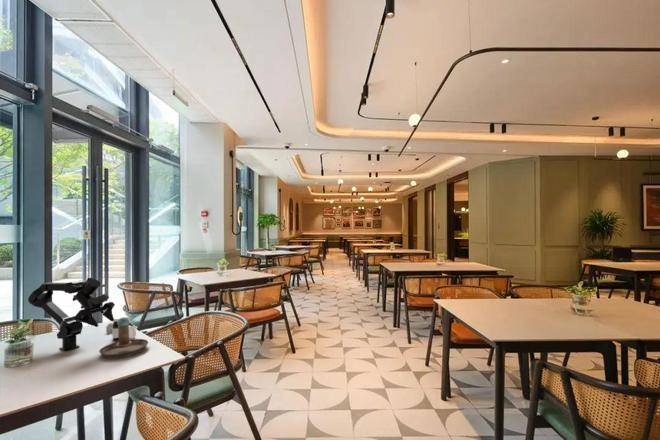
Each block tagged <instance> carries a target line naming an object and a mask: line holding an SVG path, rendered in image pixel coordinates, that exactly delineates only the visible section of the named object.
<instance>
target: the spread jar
mask: <svg viewBox="0 0 660 440" xmlns="http://www.w3.org/2000/svg"><path fill="white" fill-rule="evenodd" d="M122 317H126V318H128V319H129V316H128V315H119V316H115V317H113V318H114V321H113V322H112V323H113V326H112V340H114V341H119V336H118V325H117V322H118V320H119V319H120V318H122ZM136 336H137V331H136V328H135V327H134V326H132V325H129V340H131V339H136Z"/></svg>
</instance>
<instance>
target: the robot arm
mask: <svg viewBox="0 0 660 440" xmlns="http://www.w3.org/2000/svg"><path fill="white" fill-rule="evenodd" d="M101 284H102V283H101V282H100V281H99V280H97V279H95V278H93V277H88V278H87V279H86V281H84V280H77V281H75V280H74V281H70V282H54V281H53V282H52V281H50V282H49V281H48V282H45V283H44V282H43V283H42V284H41V285H40V286H39V287H38V288H36V289H35V290H33V291H32V292H31V294H30V295H29V296H28V299H27V301H28V303H29V304H30V305H32V306H33V307H35V308H40V309H42V310H43V311H44V312H45V313H46V314H48V315H49V316H50V317H51V318H52V319H53V320H54V321H56V323H58V324H59V331H58V332H57V333H56V338H57V339H58V340H62V342H61V343H62V345H61V347H59V348H58V350H61V351H63V352H66V351H70V350H74V349H78V348H80V345H79V344H78V345H77V336H78V335H81V334H82V331H83V327H84V325H83V324H84V323H85V324H87V325H91V326H92V327H96V328H98V327H99V324H98V322H97V320H96V319H95V318H94V317H93V315H94V314H96V313H97V314H98V313H100V314H102V316H103V317H105V318H106V319H107V320H109V321H110V322H111V323H113V322H114V318H115V317H114V315H113V309H114V307H115V305H116V304H115V303H114V302H113V301H109V302H107V301H108V300H109V298H110V297H109V295H108V294H107V293H102V294H101V295H99V296H96V297H93V295H94V294H95V293H96V291H98V289H99V288H100V287H101V286H102V285H101ZM54 291H55V292H56V291H57V292H64V293H66V294H69V295H70V294H71V295H72V294H73V297H72V302H75V301H77V302H78V303H79V304H80V309H79V311H78V312H77V313H76V314H75V315H74V316H69V315H68V314H66V312H64V310H62V309H61V308H60V306H58V305H57V304H56V303H54V301H53V294H54ZM105 302H106V303H105ZM103 303H104V304H103Z"/></svg>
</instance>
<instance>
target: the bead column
mask: <svg viewBox="0 0 660 440" xmlns="http://www.w3.org/2000/svg"><path fill="white" fill-rule="evenodd" d="M117 325H118V336H119V340H118V342H119V343H117V344H116V347H117V348H125V347H128V346H130V345H132V341H129V340H130V339H129V327H130V320H129V317H128V318H126V317H122V318H120V319H119V320H118V322H117Z"/></svg>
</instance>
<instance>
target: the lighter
mask: <svg viewBox="0 0 660 440" xmlns="http://www.w3.org/2000/svg"><path fill="white" fill-rule="evenodd" d="M112 326H113V322H110V323H108V324H107V325H106V326H105V327H106V328H105V329H106V330H105V331H106V332H105V333H106V334H111V333H112Z"/></svg>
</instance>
